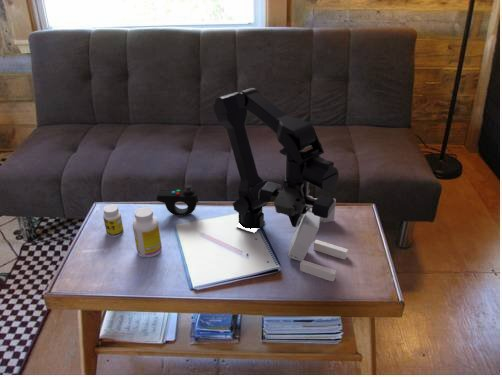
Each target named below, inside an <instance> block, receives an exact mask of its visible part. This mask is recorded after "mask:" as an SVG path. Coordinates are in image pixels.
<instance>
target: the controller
mask: <svg viewBox="0 0 502 377" xmlns="http://www.w3.org/2000/svg"><path fill="white" fill-rule="evenodd" d="M198 192H199V191H198V189H193V188H192V184H186V185H184V188H183V189H161V190H159V191H158V192H157V194H156V201H157V202H160V203H163V204H164V205H165V207H166V210H167V211H168V212H169V213H170V214H172V215H174V216H177V217H186V216H188V215H189V216H190V215H191V214H192V213H193V212H194V211H195V210H196V207H197V203H199V195H198ZM176 203H184V204H186V205H187V206H186V207H185V208H179V207H178V206H177V205H176Z"/></svg>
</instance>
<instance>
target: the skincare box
mask: <svg viewBox="0 0 502 377" xmlns="http://www.w3.org/2000/svg"><path fill="white" fill-rule="evenodd" d="M299 222H300V221H299ZM320 223H321V222H320V217H319V216H315V215H314V214H313V213H311V212H308V211H307V213H306V214H304V216H303V218H302V220H301V222H300V223H298V225H297V229H296V231H295V233H294V235H293V237H292V238H291V242H290V244H289V247H288V248H289V249H288V254H287V257H288V258H290V259H292V260H296V261H298V262H300V263H301V262H302V260H304V259H305V258H306V255H307V253H308V252H309V249H310V247H311V245H312V243H313V242H314V239H315V237H316V236H317V234H318V231H319V230H320V229H319V228H320Z"/></svg>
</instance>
